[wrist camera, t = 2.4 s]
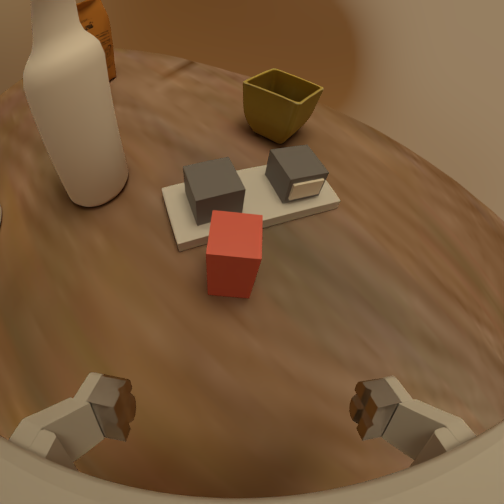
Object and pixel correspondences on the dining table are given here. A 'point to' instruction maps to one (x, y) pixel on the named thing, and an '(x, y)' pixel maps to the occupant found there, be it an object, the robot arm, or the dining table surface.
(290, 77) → the flower pot
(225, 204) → the grey cubes on base
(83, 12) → the coffee package
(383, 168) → the dining table surface
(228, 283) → the tall red square pillar
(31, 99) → the alcohol
